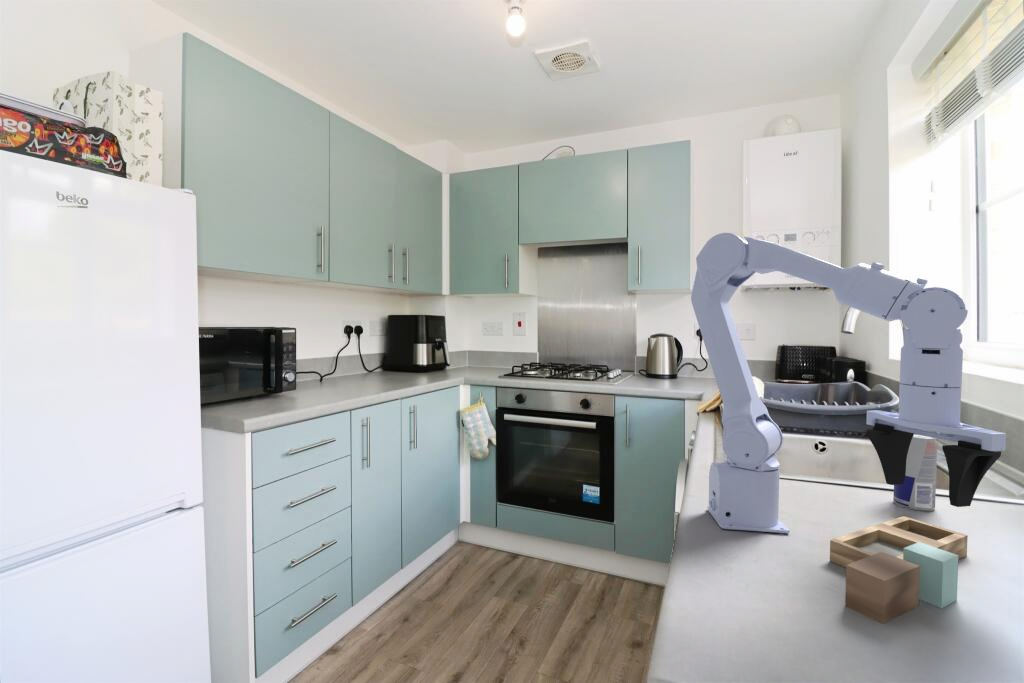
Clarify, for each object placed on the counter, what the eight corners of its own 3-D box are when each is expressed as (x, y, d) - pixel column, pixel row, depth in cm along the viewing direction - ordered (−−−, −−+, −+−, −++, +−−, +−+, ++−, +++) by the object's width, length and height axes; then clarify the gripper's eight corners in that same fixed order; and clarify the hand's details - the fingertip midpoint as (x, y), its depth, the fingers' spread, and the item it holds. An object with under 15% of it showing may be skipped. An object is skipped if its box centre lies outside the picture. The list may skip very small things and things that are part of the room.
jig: (894, 588, 53) (895, 565, 53) (829, 560, 59) (830, 539, 59) (966, 555, 61) (967, 535, 61) (903, 534, 67) (903, 515, 67)
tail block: (941, 608, 49) (943, 562, 49) (902, 591, 53) (903, 548, 52) (956, 600, 51) (958, 555, 51) (917, 584, 54) (919, 542, 54)
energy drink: (893, 497, 83) (895, 430, 82) (933, 505, 79) (936, 435, 79) (893, 506, 78) (895, 435, 78) (936, 514, 75) (938, 440, 75)
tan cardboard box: (883, 625, 47) (884, 580, 47) (845, 606, 50) (846, 565, 50) (918, 607, 50) (919, 565, 50) (880, 590, 53) (881, 551, 53)
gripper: (1029, 392, 51) (1024, 514, 52) (896, 378, 66) (893, 474, 66) (979, 393, 50) (974, 518, 50) (855, 379, 64) (851, 476, 64)
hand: (925, 494), depth 58 cm, fingers open, 7 cm apart
